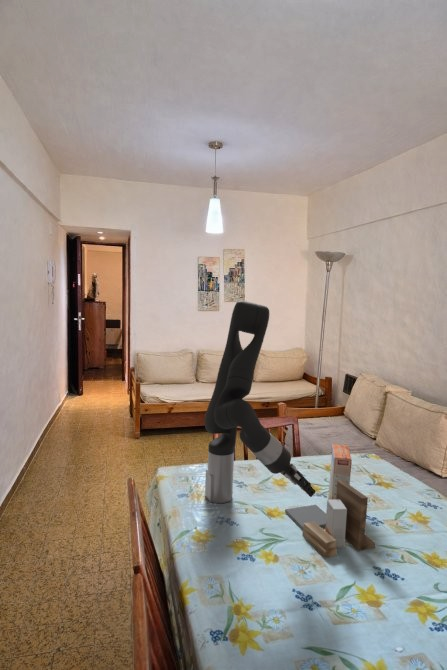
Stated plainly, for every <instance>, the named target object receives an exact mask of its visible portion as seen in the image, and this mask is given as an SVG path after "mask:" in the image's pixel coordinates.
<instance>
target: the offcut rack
mask: <svg viewBox="0 0 447 670" xmlns="http://www.w3.org/2000/svg"><path fill="white" fill-rule="evenodd" d="M368 499H369V498H368V496H366V495H365V494H363V493H362V492H361V491H359V490H357V489H356V488H355V487H354V486H352V485H351V484H350V485H349V484H348V483H346V482H345V481H343V480H340V481H337V494H336V500H341V502H342V503H343V504H344V506H345V507H346V509H347V517H346V532H345V542H347V543H349V545H351V546H352V547H353V548H354V549H355V550H356V551H357V552H360V551H365V550H370V549H375V548H376V542H375V541H374V540H373V539H371V538H370V537H369V536H368V535H367V534H366V527H367V526H366V525H367V513H368V501H369V500H368ZM301 535H302V537H304V538H305V540H307V542H308V543H309V544H310V545H311V546H312V547H313V548H314V549H315V550H316V551H317V552H318V553H319V554H320V555H321V556H322V558H324V559H325V558H331V557H335V556H337V553H338V548H337V547H336V539H334V538H333V537H332V536H331V535H330V534H328V533H327V532H326V531H325V529H324V528H321V527H320V526H319V525H318V524H316V523H315V522H314V521H312V522H307V523H304V528H303V530H302V534H301Z"/></svg>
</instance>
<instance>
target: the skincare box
mask: <svg viewBox="0 0 447 670" xmlns="http://www.w3.org/2000/svg"><path fill="white" fill-rule="evenodd" d="M325 513H326V527H324V528H325V529H324V530H325V531H326V532H327V533H328V534H330V535H331V536H332V537H333V538H334V539H336V547H335V548H345V545H346V540H345V532H346V517H347V509H346V507H345V506H344V504H343V503H342V502H341V500H328V499H327V500H326V512H325Z"/></svg>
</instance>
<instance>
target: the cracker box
mask: <svg viewBox="0 0 447 670" xmlns="http://www.w3.org/2000/svg"><path fill="white" fill-rule="evenodd" d="M331 445H332V446H331V456H330V458H331V459H330V470H329V471H330V472H329V483H328V484H329V486H328V497H327V500H336V494H337V481H340V480H343V481H345V482H346V483H348V484H349V485H350V486H351V472H352V460H353V459H352V455H351V452H350V448H349V445H347V444H346V445H345V444H337V443H336V444H335V443H332V444H331Z"/></svg>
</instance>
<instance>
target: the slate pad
mask: <svg viewBox="0 0 447 670" xmlns="http://www.w3.org/2000/svg"><path fill="white" fill-rule="evenodd" d="M284 513H286V515H287V516H289V518H290V519H291V520H292V521H293V522H294V524H295V525H297V526H298V527H299V528H300V529H301V530H302V531H303V528H304V523H307V522H312V521H314V522H315V523H316V524H318V525H319V526H320V527H321V528H322V529H324V528H326V512H325V511H324V510H322V509H321V508H320V506H318V505H317V504H313V505H312V504H311V505H305V506H298V507H293V508H285V510H284Z"/></svg>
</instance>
